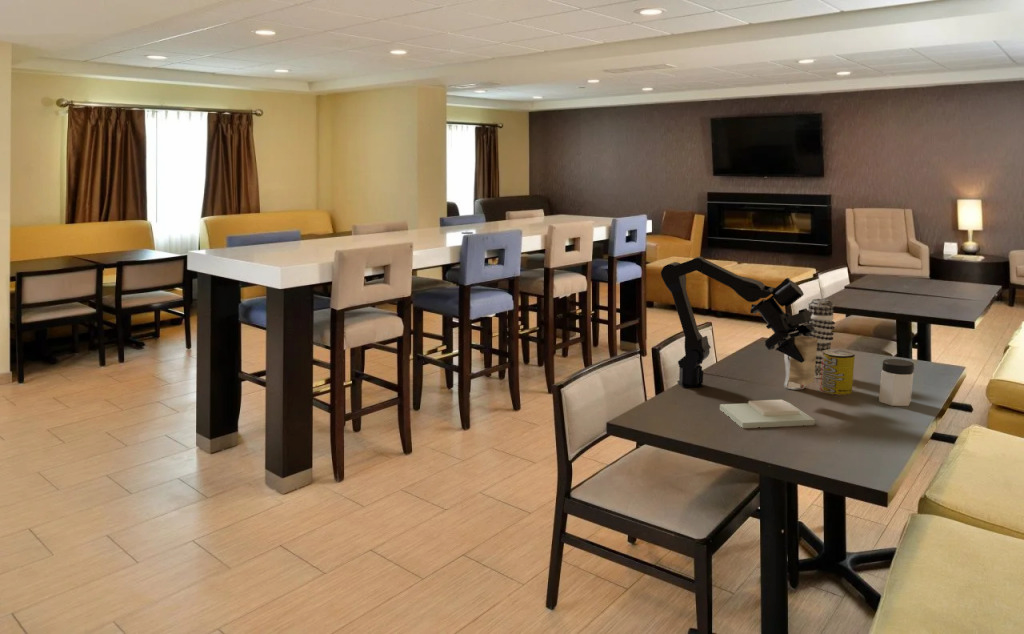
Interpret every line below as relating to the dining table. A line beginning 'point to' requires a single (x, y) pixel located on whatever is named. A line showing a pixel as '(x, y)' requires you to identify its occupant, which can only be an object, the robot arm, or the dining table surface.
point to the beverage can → (837, 371)
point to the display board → (766, 414)
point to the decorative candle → (821, 328)
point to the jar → (896, 382)
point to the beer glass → (788, 384)
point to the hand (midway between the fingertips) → (807, 360)
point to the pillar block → (806, 369)
